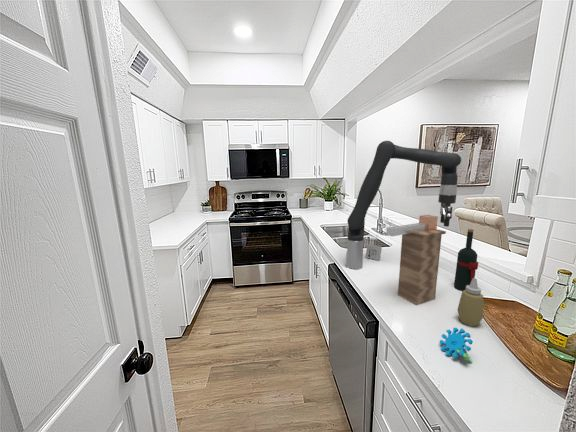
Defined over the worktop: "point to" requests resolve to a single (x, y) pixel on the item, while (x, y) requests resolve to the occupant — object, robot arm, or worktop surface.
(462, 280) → the wine bottle
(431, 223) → the copper head mallet
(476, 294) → the squeeze bottle
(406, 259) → the shelf post
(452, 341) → the blue flower
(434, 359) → the worktop surface
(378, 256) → the electrical switch
